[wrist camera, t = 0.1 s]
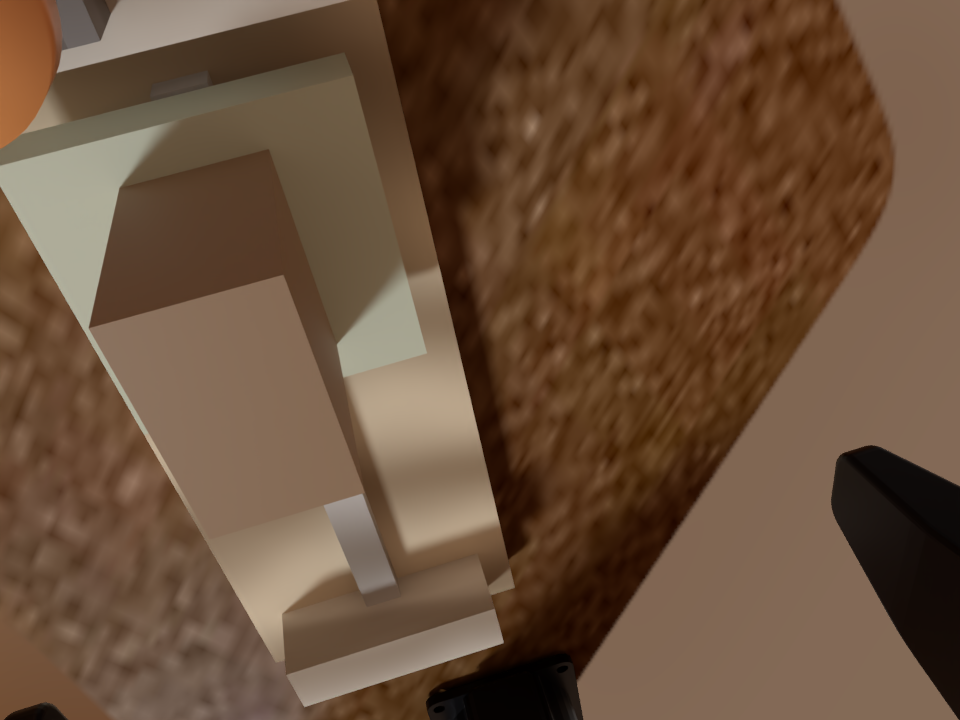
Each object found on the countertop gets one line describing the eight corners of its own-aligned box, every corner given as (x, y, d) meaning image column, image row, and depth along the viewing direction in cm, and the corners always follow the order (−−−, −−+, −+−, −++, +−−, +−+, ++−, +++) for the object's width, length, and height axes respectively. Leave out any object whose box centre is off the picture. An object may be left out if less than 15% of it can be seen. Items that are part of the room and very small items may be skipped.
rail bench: (506, 562, 32) (554, 704, 28) (274, 635, 31) (284, 793, 27) (304, -284, 16) (338, -290, 11) (-182, -179, 15) (-358, -138, 11)
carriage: (415, 320, 22) (474, 497, 17) (148, 396, 21) (126, 603, 16) (344, 52, 18) (394, 181, 13) (6, 138, 17) (-86, 311, 12)
